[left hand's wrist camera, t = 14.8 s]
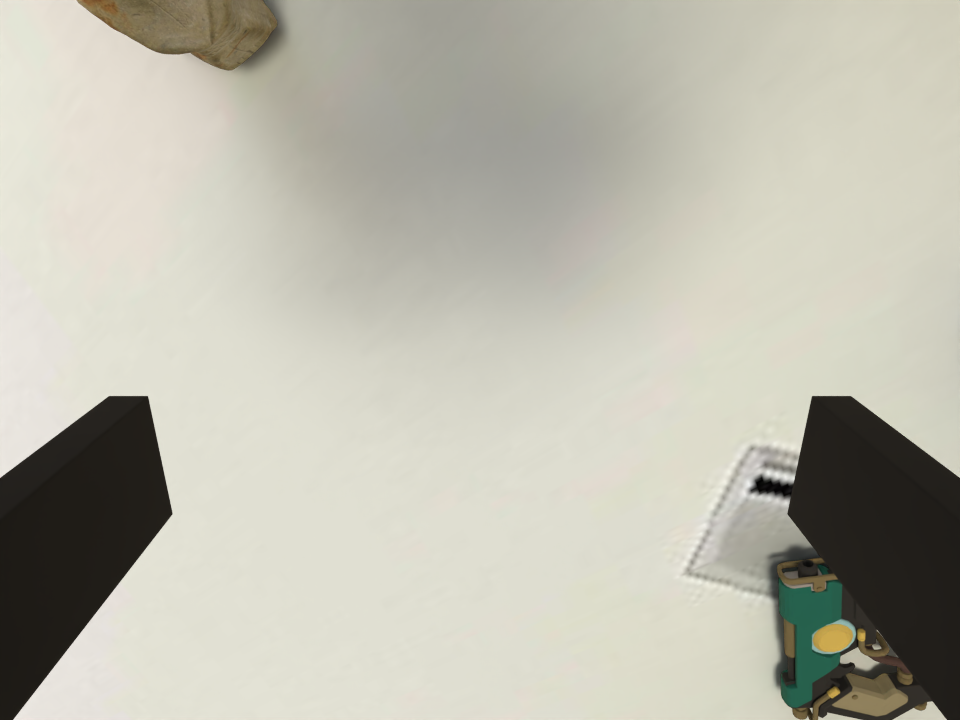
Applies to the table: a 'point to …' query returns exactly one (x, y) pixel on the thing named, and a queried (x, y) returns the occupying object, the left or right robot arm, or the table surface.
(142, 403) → the left robot arm
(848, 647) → the spray gun
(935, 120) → the table surface
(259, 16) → the sculpture
